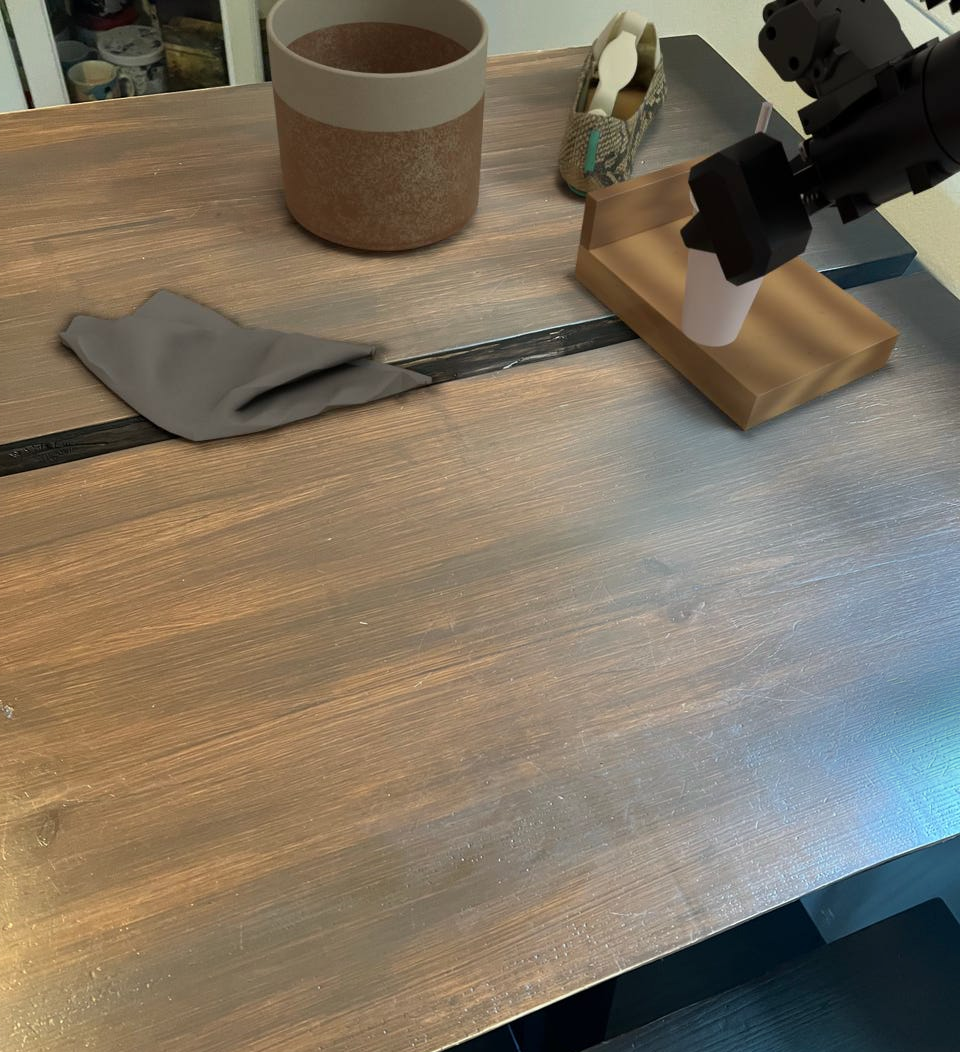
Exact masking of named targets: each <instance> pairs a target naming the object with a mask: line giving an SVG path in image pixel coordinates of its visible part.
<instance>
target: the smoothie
mask: <svg viewBox="0 0 960 1052" xmlns="http://www.w3.org/2000/svg"><path fill="white" fill-rule="evenodd" d="M773 106H774V103H772V102H770V101H764V102H762V105H761V109H760V112H759V115H758V116H759V117H758V120H757V124H756V127H755V131H754V134H755V133H757V132H760V131H761V132H763V133H765V134H766V132H767V128H768V125H769V121H770V118H771V113H772V110H773ZM801 198H803V194H802V195H801ZM690 201H691V203H692V205H693V207H694V208H693V216H692V218H693V217H694V216H695V215H696V214H697V213H698V212H699V210H698V207H697V204H696V202H695V199H694V197H693V194H692V192H691V191H690ZM764 277H765V276H763V277H760V278H758V279H755V280H753V281H750V282H748V283H745V284H743V285H740V286H738V287H737V286H735V285H733V284H732V283H730V282H728V281H727V280H726V279H725V276H724V273H723V271H722V268H721V266H720V263H719V261H718V258H717V256H716V254H714V253H709V252H704V251H699V250H694V249H690V248H689V255H688V264H687V274H686V283H685V293H684V302H683V312H682V322H681V328H682V331H683V333H684V334H685V335H686V336H687V337H688V338H689V339H691V340H692V341H694V342H696V343H699V344H702V345H706V346H724V345H727V344H729V343H731V342H733V341H734V340H735V339H736V337H737V335H738V333H739V331H740V328H741V326H742V324H743V322H744V320H745V318H746V315H747V313H748V311H749V309H750V307H751V305H752V302H753V300H754V298H755V296H756V294H757V292H758V289H759V287H760V285H761V283H762V281H763V279H764Z"/></svg>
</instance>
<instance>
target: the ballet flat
mask: <svg viewBox="0 0 960 1052" xmlns="http://www.w3.org/2000/svg"><path fill="white" fill-rule="evenodd" d="M660 46H661V45H660V33H659V29H658V25H657V23H656V22H655V21H653V22H649V19H648V18H647V16H644V15H643V14H640V13H638V12H636V11H633V10H631V9H626V10H625V11H624V12H622V11H619V12H618V13H616V14H615V15H614V16H613V17H612V18H611V19H610V20H609V22H608V23H607V24H606V25H605V27H604V29H603V30H602V31H601V32H600V33H599V35H598V37H596V38H595V39H594V41H592V45H591V46H590V48H589V51H588V53H587V55H586V57H585V60H584V61H583V64H582V66H581V69H580V72H579V75H578V77H577V82H576V87H577V91H576V94H575V97H574V100H573V103H572V106H571V109H570V113H569V115H568V120H567V124H566V128H565V131H564V135H563V138H562V141H561V144H560V147H559V150H558V155H557V157H558V158H557V164H558V169H559V172H560V174H561V177H562V179H564V181H565V182H566V184H567V186H568V188H569V189H570V190H571V191H572V192H573V193H575V194H576V195H579V196H581V197H582V196H583V197H585V198H586V197H587V193H589V192H592V191H595V190H599V189H602V188H605V187H608V186H611V185H614V184H617V183H621V182H624V181H627V180H630V177H631V175H632V173H633V169H634V165H635V164H634V161H635V158H636V154H637V151H638V149H639V145H640V144H641V142H642V139H643V137H644V135H645V132H646V131H647V129H648V127H649V125H650V123H651V122H652V120H653V119H654V118H655V116H656V115H657V114H658V112H659V111H660V109H661V108H662V107H663V105H664V104H665V102H666V100H667V96H668V87H667V80H666V76H665V75H666V73H665V70H664V69H665V67H664V56H663V52H662V50H661V47H660Z"/></svg>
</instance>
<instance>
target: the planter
mask: <svg viewBox="0 0 960 1052" xmlns="http://www.w3.org/2000/svg"><path fill="white" fill-rule="evenodd" d="M265 28H266V29H265V30H266V39H267V48H268V59H269V66H270V74H271V76H270V77H271V85H272V95H273V103H274V113H275V122H276V132H277V140H278V150H279V158H280V168H281V179H282V187H283V195H284V201H285V204H286V207H287V209H288V211H289V213H290V214H291V215H292V217H293V218H294V219H295V221H297V222H298V223H299V224H300V225H301V226H302V227H303V228H304V229H306V230H308V231H309V232H310V233H312V234H314V235H316V236H317V237H320V238H322V239H324V240H327V241H329V242H332V243H334V244H338V245H341V246H344V247H349V248H354V249H358V250H366V251H376V252H377V251H378V252H379V251H380V252H382V251H383V252H391V251H405V250H411V249H417V248H422V247H426V246H428V245H429V246H430V245H432V244H435V243H438V242H440V241H443V240H445V239H447V238H449V237H451V236H453V235H455V234H456V233H457V232H459V231H460V230H462V229H463V228H464V227H465V226H466V225H467V224H468V223H469V222H470V221H471V219H472V218H473V216H474V215H475V213H476V211H477V209H478V205H479V195H480V181H481V180H480V179H481V162H482V149H483V148H482V146H483V131H484V114H485V113H484V112H485V98H486V96H485V95H486V80H487V78H486V77H487V63H488V61H487V60H488V46H489V45H488V44H489V26H488V22H487V21H486V18H485V17H484V15H483V14H482V12H481V11H480V10H479V9H478V7H476V6H475V5H474V4H473V3H472V2H470V1H469V0H277V1H276V2H275V3H274V4H273V5H272V7H271V8H270V9H269V11H268V13H267V16H266V20H265Z"/></svg>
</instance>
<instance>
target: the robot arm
mask: <svg viewBox="0 0 960 1052" xmlns="http://www.w3.org/2000/svg"><path fill="white" fill-rule="evenodd" d="M947 1H948V0H919V3H922V4H923V3H924V2H925V6H926V9H927V11H930V10H933V9H934V8H936V7H938V6H940V5H942V4H944V3H945V2H947ZM947 5H948V7H949V10H950V15H951V16H954V15H956V14H958V13H960V0H949V2H948V3H947ZM761 15H762V20H763V22H764V25H763V26H762V27H761V29H760V31H759V32H758V35H757V47H758V50H759V52H760V53H761V54H762V56H763V57H764V58H765V60H766V61H767V63H768V64H769V65H770V66H771V67H772V69H773V70H774V71H775V73H776V74H777V76H778V77H779V78H780V79H781V80H782V81H783V82H784V83H793V82H795V84H796V85H797V86H798V87H799V89H800V90H801V91H802V92H803V93H804V94H805V95H806V96H808V97H809V98H811V99H813V100H814V101H812V102H810V103H808V104H807V105H805V106H803V107H802V108H800V109H798V110H797V111H796V113H797V117H798V119H799V121H800V124H801V127H802V130H803V133H804V135H805V136H810V137H808V138H807V139H804V140H802V141H800V142H799V143H798V146H797V147H798V148H797V149H798V151H799V153H798V154H797V155H795V156H794V157H793V158H791V159H790V160H789V159H788V157H787V154H786V150H785V147H784V145H783V142H782V141H781V140H779V139H777V138H775V137H773V136H771V135H769V134H767V133H766V132H765V133H763V132H761V131H760V132H757V133H755V132H754V134H752V135H750V136H747V137H746V138H743V139H741V140H739V141H737V142H735V143H733V144H730V145H729V146H727V147H725V148H722V149H720V150H718V151H719V152H718V151H716V152H717V153H715V152H714V153H715V154H713V155H712V156H710V157H708V158H706V159H705V160H703V161H701V162H699V163H697V164H696V165H694V166H692V167H691V169H690V174H689V178H688V184H689V186H690V189H691V192H692V194H693V197H694V199H695V202H696V204H697V207H698V210H699V212H698V213H697V214H696V215H695V216H694V217H693V218H692V219H691V220H690V221H689V222H688V223H687V224H685V225H684V226H683V227H682V228H681V230H680V234H681V237H682V239H683V242H684V244H685V246H686V247H687V248H690V249H694V250H699V251H704V252H709V253H714V254H716V256H717V258H718V261H719V263H720V266H721V268H722V271H723V273H724V276H725V279H726V280H727V281H728V282H730V283H732V284H733V285H735V286H737V287H738V286H740V285H743V284H745V283H748V282H750V281H753V280H755V279H758V278H760V277H763V276H765V275H767V274H768V273H770V272H772V271H774V270H775V269H777V268H779V267H780V266H782V265H784V264H785V263H787V262H789V261H790V260H792V259H794V258H795V257H797V256H798V257H800V256H801V255H802V254H804V253H805V252H806V249H807V246H808V244H809V240H810V238H811V235H812V232H813V228H814V227H813V226H812V223H811V219H810V218H812V217H813V216H815V215H817V214H819V213H820V212H822V211H824V210H826V209H828V208H829V209H830V208H837V210H838V214H839V216H840V219H841V222H842V225H843V226H844V225H846V224H848V223H851V222H854V221H856V220H858V219H860V218H863V217H864V216H865V215H867V214H869V213H870V212H872V211H874V210H876V209H877V208H878V207H881V206H882V205H884V204H886V203H888V202H891V201H893V200H896V199H898V198H900V197H902V196H905V195H907V194H910V193H912V195H913V196H916V195H919V194H921V193H924V192H925V191H928V190H930V189H933V188H935V187H936V186H937V185H939V184H942V183H943V182H944V181H946V180H949V178H951V177H952V176H954V175H956V174H957V173H959V172H960V30H959V29H958V30H957V31H956V32H954V33H952V34H951V35H950V34H949V36H947V37H945V38H943V39H942V40H940V37H939V36H936V37H934V38H932V39H930V40H928V41H926V42H923V43H922V44H919V45H918V46H917V47H914V46H913V45H912V44H911V42H910V40H909V39H908V37H907V35H906V34H905V33H904V31H903V29H902V26H901V22H900V20H899V18H898V17H897V15H896V14H895V13H894V11H893V10H892V9H891V7H890V6H889V4H888V3H887V2H886V1H885V0H773V1H770V2H767V3H766V4H765V5H764V7H763V9H762V13H761ZM802 194H803V198H801V195H802Z"/></svg>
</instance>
